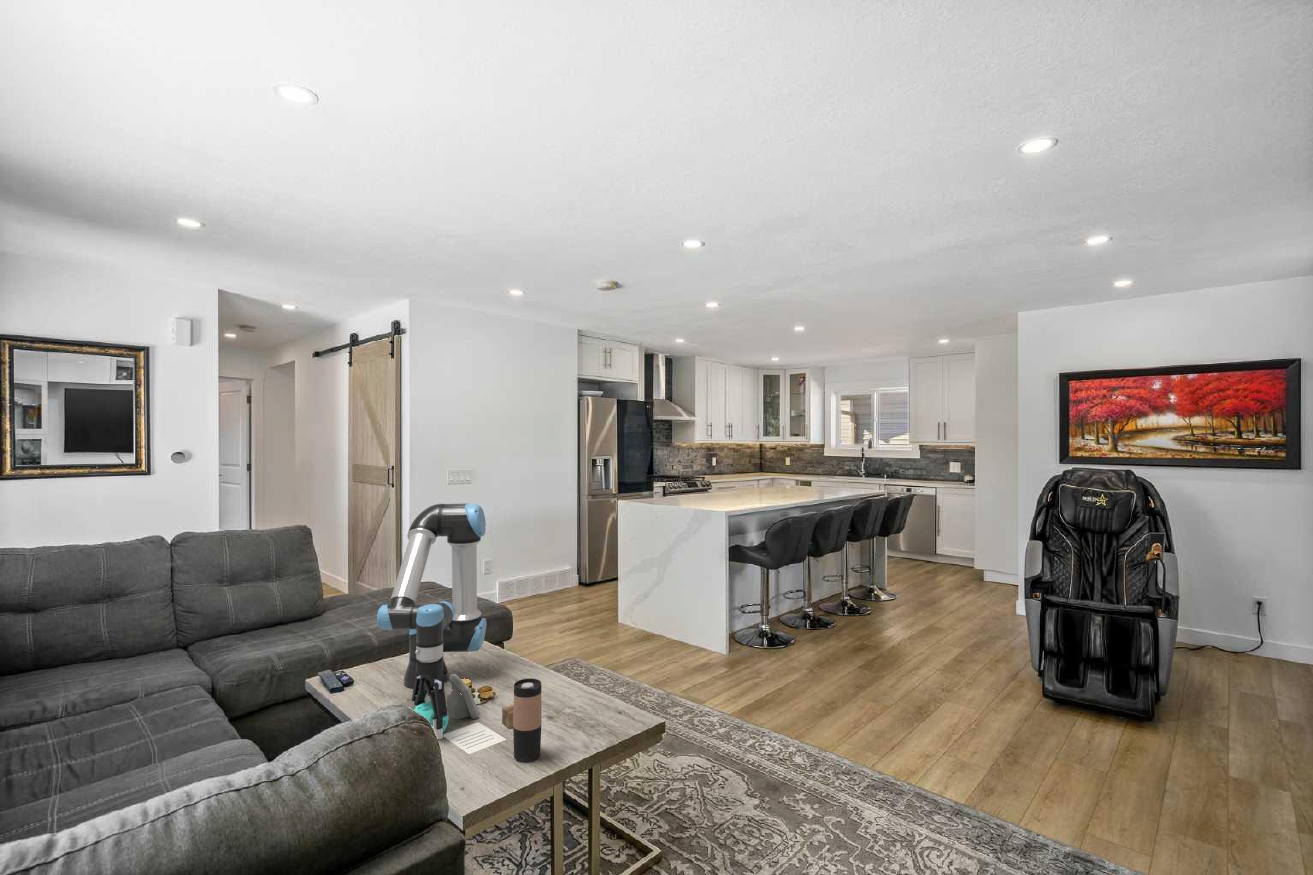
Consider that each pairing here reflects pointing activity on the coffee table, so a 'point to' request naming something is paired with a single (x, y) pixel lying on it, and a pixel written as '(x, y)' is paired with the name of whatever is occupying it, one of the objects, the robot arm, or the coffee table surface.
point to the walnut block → (507, 716)
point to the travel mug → (527, 720)
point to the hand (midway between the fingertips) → (428, 732)
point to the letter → (473, 737)
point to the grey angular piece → (461, 700)
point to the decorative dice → (429, 713)
